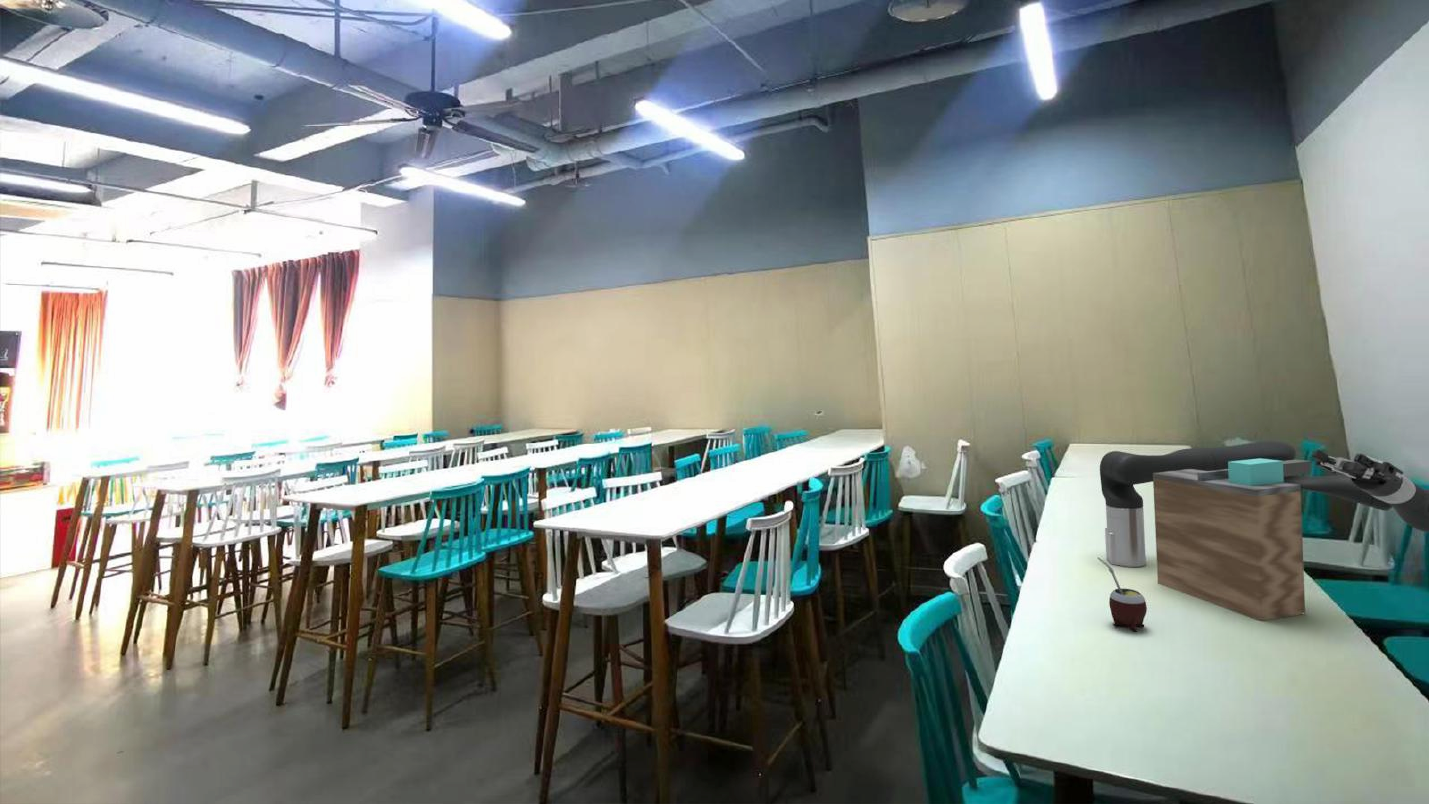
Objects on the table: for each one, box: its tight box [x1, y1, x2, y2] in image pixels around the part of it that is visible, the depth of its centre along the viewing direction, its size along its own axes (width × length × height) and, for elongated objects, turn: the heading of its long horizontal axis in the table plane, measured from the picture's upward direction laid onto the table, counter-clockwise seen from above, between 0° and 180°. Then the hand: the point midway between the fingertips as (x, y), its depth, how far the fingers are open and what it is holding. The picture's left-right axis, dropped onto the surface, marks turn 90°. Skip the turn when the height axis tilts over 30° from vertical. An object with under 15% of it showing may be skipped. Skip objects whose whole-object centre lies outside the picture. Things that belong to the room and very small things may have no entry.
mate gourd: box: [1097, 557, 1148, 633], centre depth 135 cm, size 8×8×15 cm
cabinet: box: [1152, 469, 1306, 622], centre depth 146 cm, size 13×26×32 cm, turn 8°
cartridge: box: [1228, 458, 1312, 486], centre depth 139 cm, size 18×5×5 cm, turn 98°
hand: (1335, 454), depth 142 cm, fingers open, 8 cm apart
